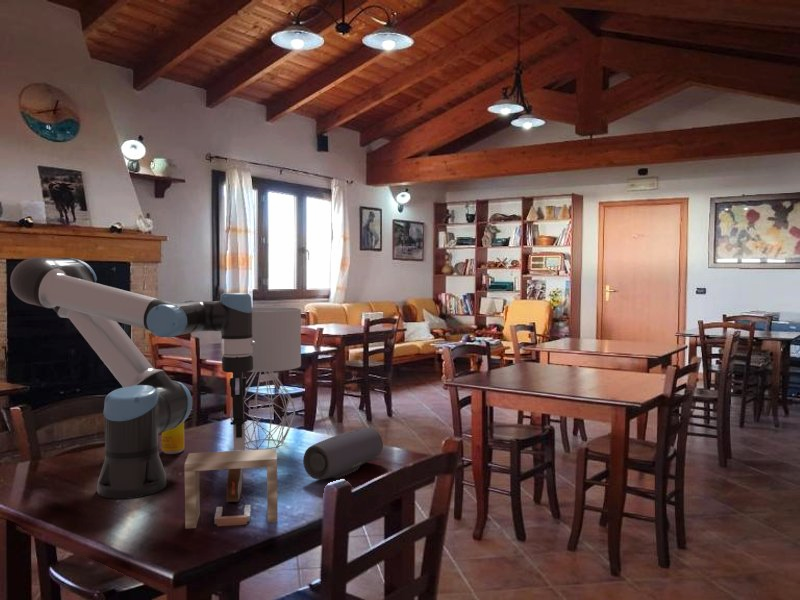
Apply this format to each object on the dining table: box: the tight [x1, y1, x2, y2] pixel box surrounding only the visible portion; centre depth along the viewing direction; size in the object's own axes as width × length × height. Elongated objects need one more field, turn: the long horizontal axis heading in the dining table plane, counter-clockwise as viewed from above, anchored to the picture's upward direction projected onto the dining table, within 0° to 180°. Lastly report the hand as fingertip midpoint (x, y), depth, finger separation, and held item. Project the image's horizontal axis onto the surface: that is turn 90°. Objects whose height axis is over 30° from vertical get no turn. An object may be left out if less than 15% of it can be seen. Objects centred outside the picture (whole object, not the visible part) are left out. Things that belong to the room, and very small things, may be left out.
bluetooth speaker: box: [302, 426, 384, 481], centre depth 169 cm, size 23×9×10 cm, turn 148°
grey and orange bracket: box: [213, 504, 252, 527], centre depth 138 cm, size 7×8×2 cm
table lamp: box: [222, 306, 302, 450], centre depth 196 cm, size 22×22×40 cm
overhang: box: [184, 448, 278, 530], centre depth 138 cm, size 18×8×13 cm, turn 101°
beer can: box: [161, 421, 185, 455], centre depth 189 cm, size 6×6×15 cm
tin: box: [225, 468, 244, 503], centre depth 152 cm, size 15×3×8 cm, turn 9°
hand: (239, 449), depth 166 cm, fingers closed
